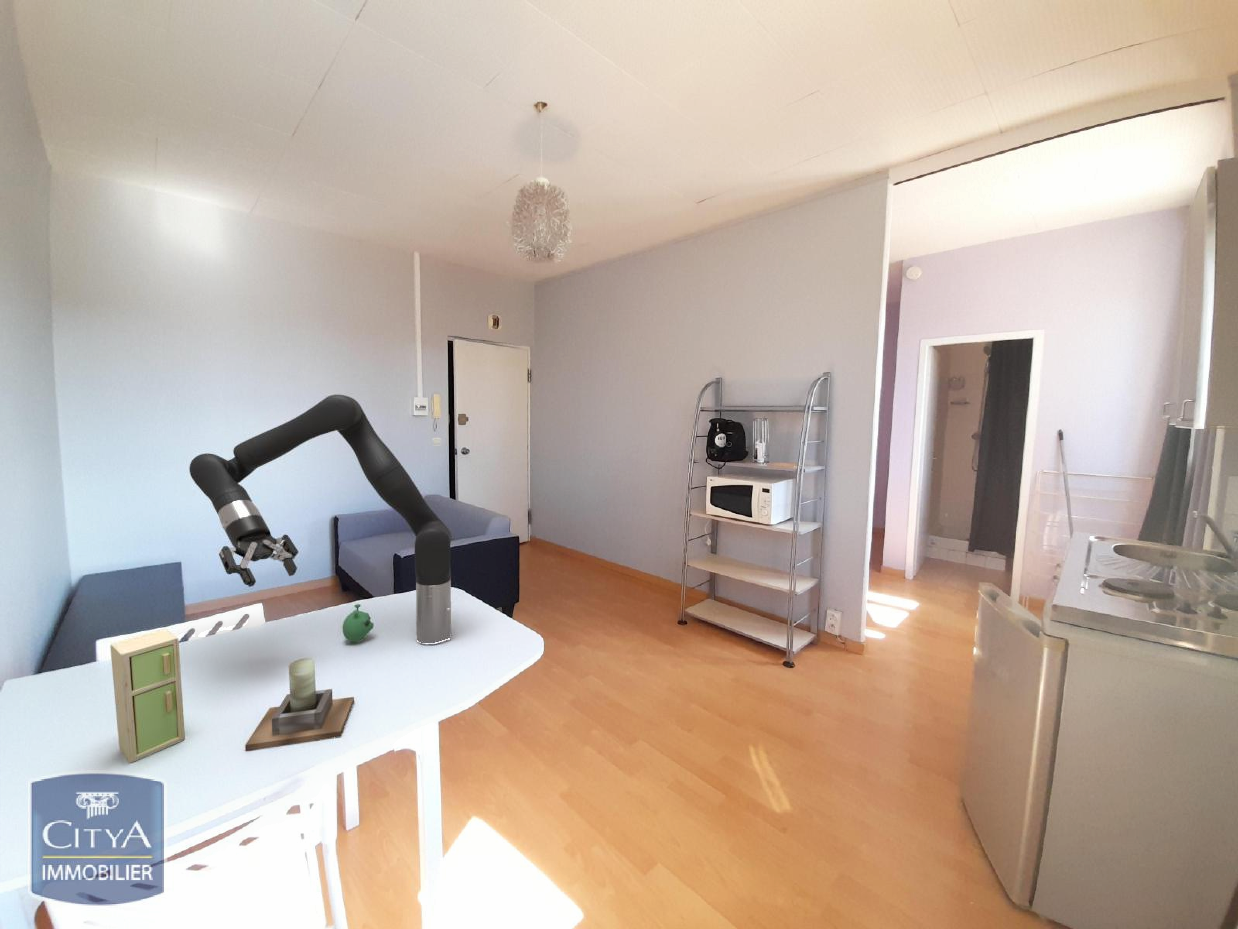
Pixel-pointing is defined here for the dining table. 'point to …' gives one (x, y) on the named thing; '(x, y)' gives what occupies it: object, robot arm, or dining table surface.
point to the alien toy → (357, 625)
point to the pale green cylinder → (302, 685)
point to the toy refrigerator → (148, 693)
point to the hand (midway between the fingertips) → (273, 579)
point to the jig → (301, 722)
